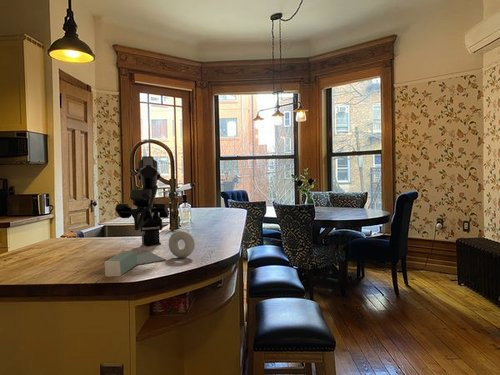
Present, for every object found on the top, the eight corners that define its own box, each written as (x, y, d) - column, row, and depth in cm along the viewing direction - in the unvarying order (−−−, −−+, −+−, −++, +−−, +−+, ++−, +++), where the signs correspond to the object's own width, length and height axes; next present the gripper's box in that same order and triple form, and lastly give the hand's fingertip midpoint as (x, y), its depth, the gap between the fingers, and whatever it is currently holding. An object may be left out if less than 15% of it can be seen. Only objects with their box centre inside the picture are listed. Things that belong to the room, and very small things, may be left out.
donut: (196, 257, 133) (195, 229, 133) (192, 259, 130) (191, 231, 130) (171, 256, 136) (170, 229, 136) (167, 258, 133) (166, 230, 132)
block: (123, 251, 124) (104, 261, 112) (136, 250, 123) (118, 261, 111) (124, 264, 124) (105, 276, 112) (137, 264, 124) (119, 276, 111)
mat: (148, 252, 144) (148, 251, 144) (165, 260, 130) (165, 259, 130) (112, 257, 137) (112, 256, 137) (126, 267, 122) (126, 266, 122)
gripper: (116, 181, 135) (101, 216, 125) (165, 180, 133) (154, 215, 123) (126, 200, 143) (114, 234, 133) (173, 200, 141) (164, 234, 131)
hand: (136, 229), depth 130 cm, fingers closed
